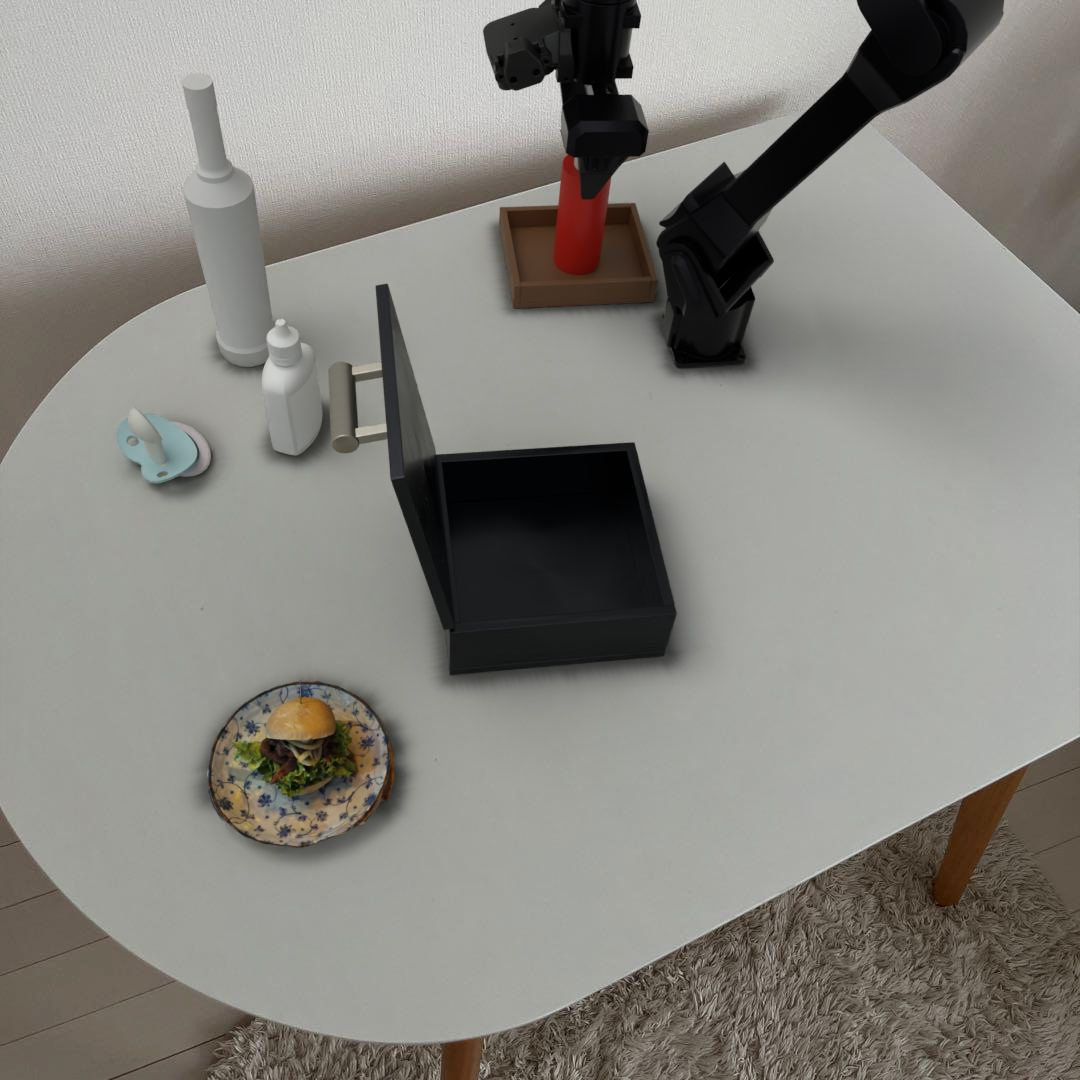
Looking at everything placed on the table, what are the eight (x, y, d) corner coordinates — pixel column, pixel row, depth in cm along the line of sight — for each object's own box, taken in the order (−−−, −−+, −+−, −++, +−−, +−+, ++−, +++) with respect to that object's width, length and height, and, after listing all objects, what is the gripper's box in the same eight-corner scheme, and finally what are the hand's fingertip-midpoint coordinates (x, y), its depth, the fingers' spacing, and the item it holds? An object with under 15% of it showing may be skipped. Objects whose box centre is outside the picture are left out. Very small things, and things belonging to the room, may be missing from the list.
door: (387, 282, 69) (318, 295, 69) (404, 477, 60) (324, 491, 60) (435, 449, 83) (377, 459, 83) (455, 628, 74) (390, 640, 74)
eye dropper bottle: (342, 429, 91) (330, 320, 82) (287, 464, 89) (267, 356, 79) (308, 400, 93) (292, 289, 83) (253, 433, 90) (230, 324, 81)
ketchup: (595, 243, 106) (610, 133, 97) (603, 274, 104) (619, 164, 94) (550, 245, 106) (560, 134, 96) (556, 276, 103) (568, 165, 94)
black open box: (625, 488, 90) (634, 441, 85) (664, 656, 81) (677, 613, 76) (431, 502, 88) (430, 454, 83) (449, 675, 79) (449, 633, 74)
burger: (174, 810, 71) (149, 760, 65) (274, 666, 78) (259, 608, 72) (338, 890, 69) (327, 846, 63) (426, 734, 76) (424, 681, 70)
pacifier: (178, 415, 91) (112, 448, 88) (165, 359, 86) (94, 393, 84) (229, 468, 88) (161, 504, 86) (218, 413, 83) (146, 450, 81)
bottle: (268, 374, 94) (219, 109, 74) (209, 362, 95) (145, 95, 75) (288, 333, 97) (247, 67, 77) (231, 321, 98) (175, 54, 78)
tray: (631, 224, 109) (635, 202, 107) (654, 302, 103) (658, 280, 101) (498, 229, 108) (499, 206, 106) (513, 308, 101) (514, 286, 99)
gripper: (480, -78, 87) (475, 102, 100) (506, 55, 77) (497, 237, 89) (619, -76, 89) (597, 100, 101) (664, 55, 78) (633, 234, 91)
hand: (579, 164), depth 96 cm, fingers open, 9 cm apart
